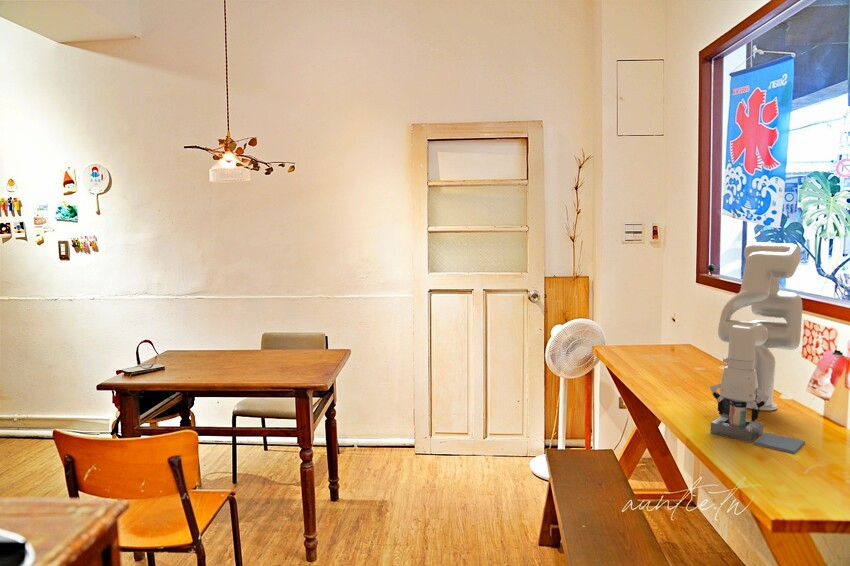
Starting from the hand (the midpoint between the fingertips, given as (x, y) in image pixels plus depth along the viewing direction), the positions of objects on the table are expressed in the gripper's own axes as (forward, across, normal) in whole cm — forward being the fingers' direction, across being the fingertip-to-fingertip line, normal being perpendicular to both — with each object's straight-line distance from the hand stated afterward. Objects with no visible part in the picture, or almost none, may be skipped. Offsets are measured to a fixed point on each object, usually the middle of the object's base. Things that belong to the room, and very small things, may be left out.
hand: (737, 416), depth 198 cm
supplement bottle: (+6, -6, +14) cm, 16 cm away
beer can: (+6, 0, 0) cm, 6 cm away
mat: (+5, +12, -1) cm, 14 cm away
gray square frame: (+5, 0, 0) cm, 5 cm away
